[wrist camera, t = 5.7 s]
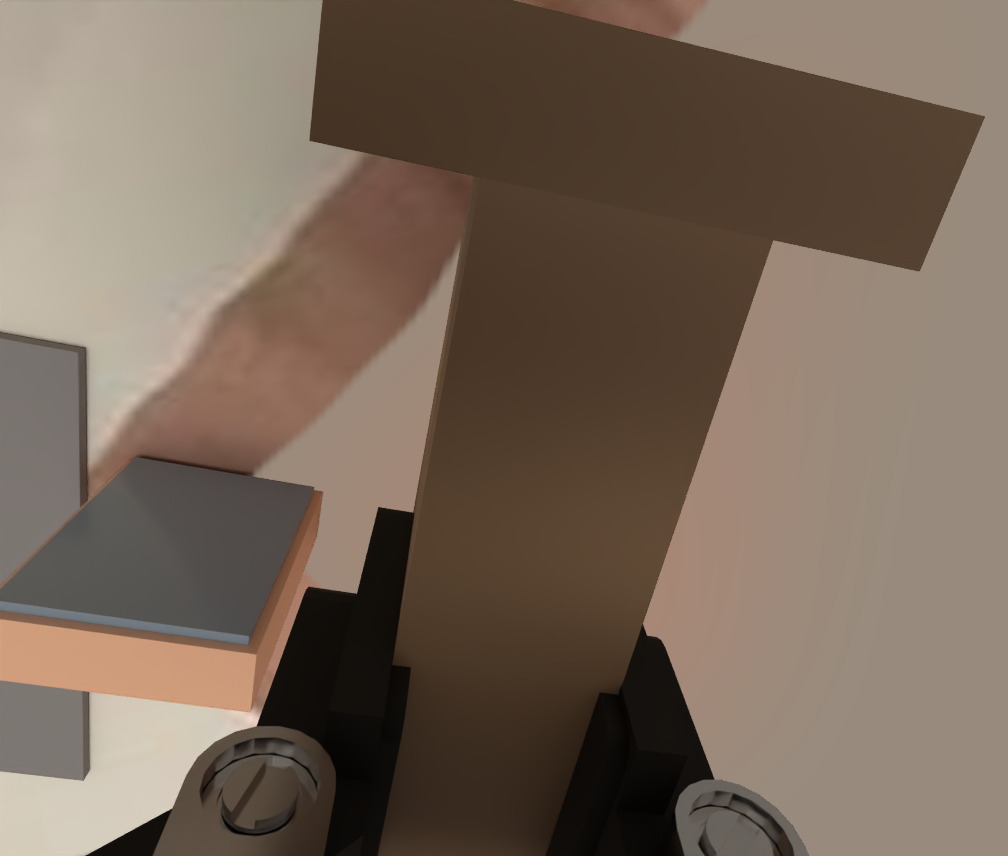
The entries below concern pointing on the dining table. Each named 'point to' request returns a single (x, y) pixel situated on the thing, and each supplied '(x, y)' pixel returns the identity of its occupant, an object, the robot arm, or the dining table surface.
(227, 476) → the tile
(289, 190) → the dining table surface
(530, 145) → the wooden t-shaped block
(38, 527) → the mat
